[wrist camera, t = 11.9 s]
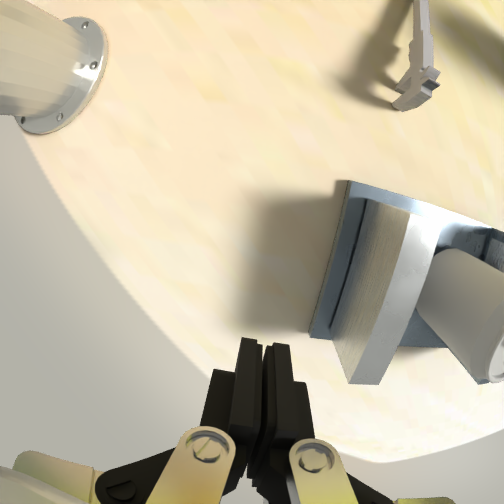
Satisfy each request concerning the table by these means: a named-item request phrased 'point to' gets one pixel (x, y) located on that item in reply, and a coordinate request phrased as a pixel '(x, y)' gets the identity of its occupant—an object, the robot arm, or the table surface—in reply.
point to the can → (466, 310)
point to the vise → (451, 236)
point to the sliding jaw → (381, 288)
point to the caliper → (418, 63)
